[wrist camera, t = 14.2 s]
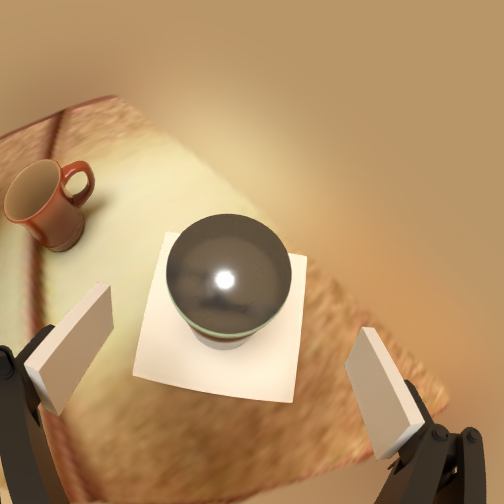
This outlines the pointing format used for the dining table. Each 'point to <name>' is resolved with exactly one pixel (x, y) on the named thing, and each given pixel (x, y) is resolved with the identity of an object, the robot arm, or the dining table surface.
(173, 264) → the grey can
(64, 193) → the mug
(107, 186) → the dining table surface
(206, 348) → the pedestal
